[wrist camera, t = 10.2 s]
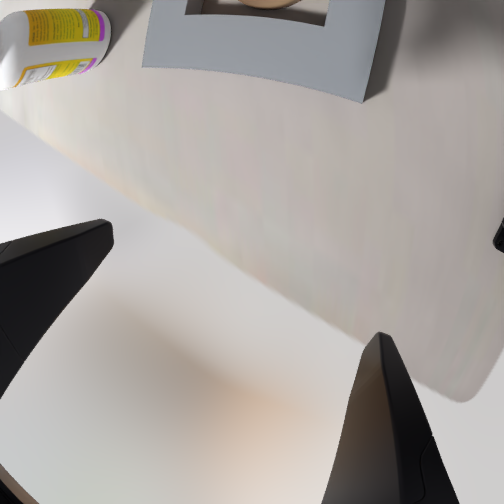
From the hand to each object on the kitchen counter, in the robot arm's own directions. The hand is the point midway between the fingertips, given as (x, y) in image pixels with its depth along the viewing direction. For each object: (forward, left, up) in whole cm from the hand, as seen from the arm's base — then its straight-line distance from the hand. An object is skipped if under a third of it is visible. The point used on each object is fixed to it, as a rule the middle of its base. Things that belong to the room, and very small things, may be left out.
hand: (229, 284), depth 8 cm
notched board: (+5, -11, -13) cm, 18 cm away
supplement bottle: (+22, -8, -13) cm, 27 cm away
